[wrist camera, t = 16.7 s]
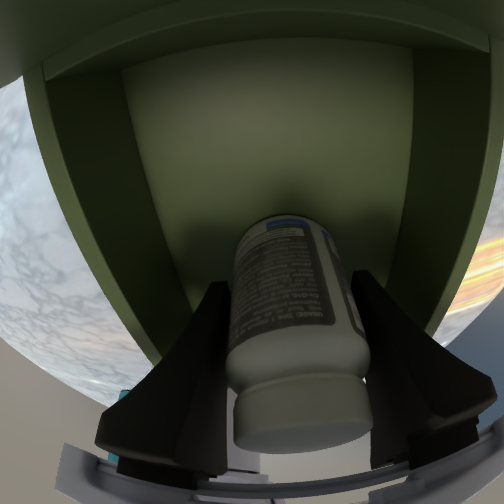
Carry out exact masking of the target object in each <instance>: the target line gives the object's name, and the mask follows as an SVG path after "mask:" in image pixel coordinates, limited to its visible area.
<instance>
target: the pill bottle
mask: <svg viewBox="0 0 504 504" xmlns="http://www.w3.org/2000/svg"><path fill="white" fill-rule="evenodd" d="M370 360H371V357H370V348H369V344H368V341H367V338H366V335H365V331H364V328H363V325H362V322H361V318H360V315H359V312H358V309H357V306H356V303H355V299H354V296H353V293H352V291H351V288H350V284H349V282H348V278H347V276H346V273H345V270H344V267H343V264H342V261H341V258H340V256H339V253H338V251H337V248H336V245H335V243H334V241H333V239H332V237H331V235H330V234H329V233H328V232H327V231H326V230H325V229H324V228H323V227H322V226H321V225H319V224H318V223H316V222H314V221H313V220H310V219H307V218H304V217H300V216H295V215H280V216H275V217H271V218H268V219H266V220H263V221H261V222H259V223H257V224H255V225H254V226H253V227H251V228H250V229H249V230H248V231H247V232H246V233H245V235H244V236H243V237H242V239H241V240H240V242H239V244H238V247H237V249H236V253H235V259H234V268H233V279H232V289H231V300H230V313H229V324H228V335H227V344H226V354H225V360H224V365H225V376H226V380H227V382H228V384H229V386H230V387H231V389H232V390H233V391H234V392H235V393H236V394H237V395H238V396H237V398H236V399H235V403H234V404H235V406H234V408H233V441H234V444H235V445H236V446H237V447H239V448H241V449H243V450H247V451H252V452H258V453H267V454H291V453H303V452H311V451H317V450H323V449H327V448H331V447H335V446H339V445H342V444H345V443H348V442H351V441H353V440H356V439H358V438H360V437H362V436H363V435H365V434H366V433H367V432H369V431H370V430H371V429H372V427H373V416H372V411H371V405H370V399H369V394H368V391H367V386H366V384H365V382H364V381H363V380H362V379H363V378H364V377H365V375H366V374H367V371H368V369H369V366H370Z"/></svg>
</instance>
